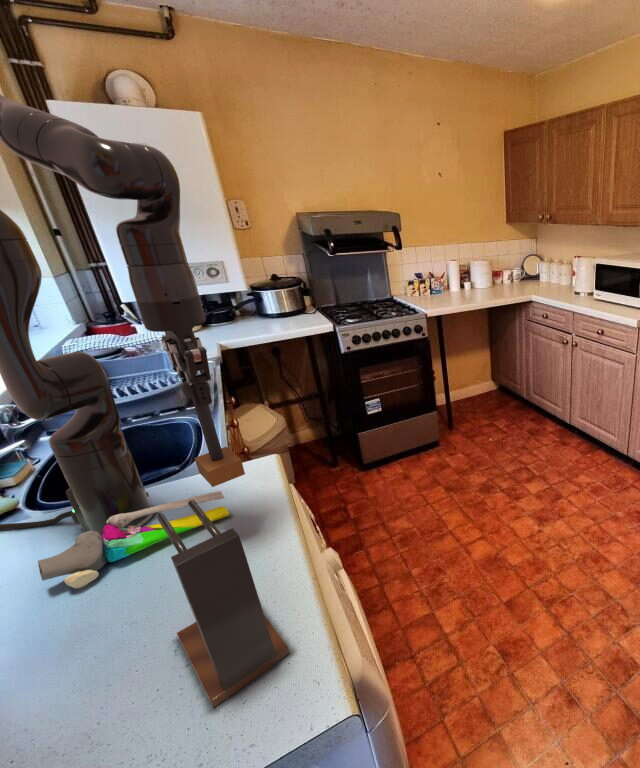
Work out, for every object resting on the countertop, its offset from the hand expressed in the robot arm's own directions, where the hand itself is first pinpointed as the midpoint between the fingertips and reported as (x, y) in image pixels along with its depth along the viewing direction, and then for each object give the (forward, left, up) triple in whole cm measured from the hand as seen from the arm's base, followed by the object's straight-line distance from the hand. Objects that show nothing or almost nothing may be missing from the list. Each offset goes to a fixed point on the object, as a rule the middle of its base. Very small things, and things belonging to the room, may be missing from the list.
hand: (200, 401), depth 71 cm
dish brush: (0, 0, -14) cm, 14 cm away
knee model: (-14, -3, -27) cm, 30 cm away
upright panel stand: (+10, -23, -26) cm, 36 cm away
